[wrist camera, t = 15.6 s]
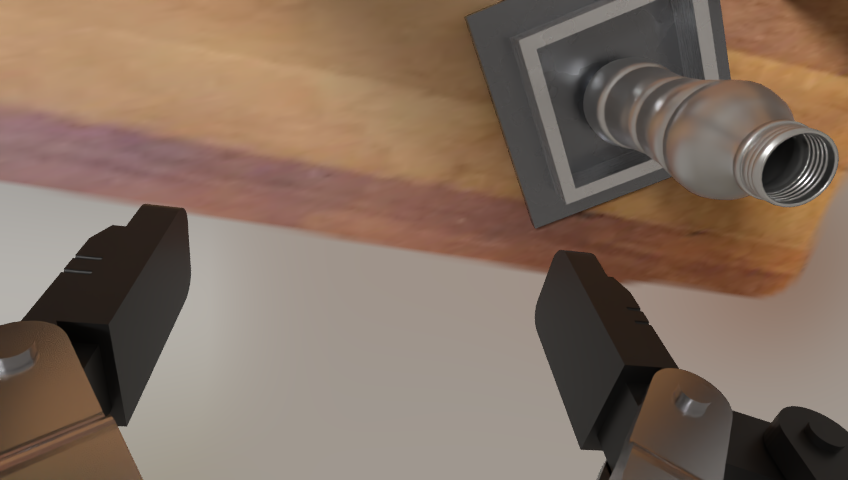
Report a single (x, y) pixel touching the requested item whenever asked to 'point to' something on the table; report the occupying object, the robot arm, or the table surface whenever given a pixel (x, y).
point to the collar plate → (582, 87)
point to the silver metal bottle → (711, 133)
